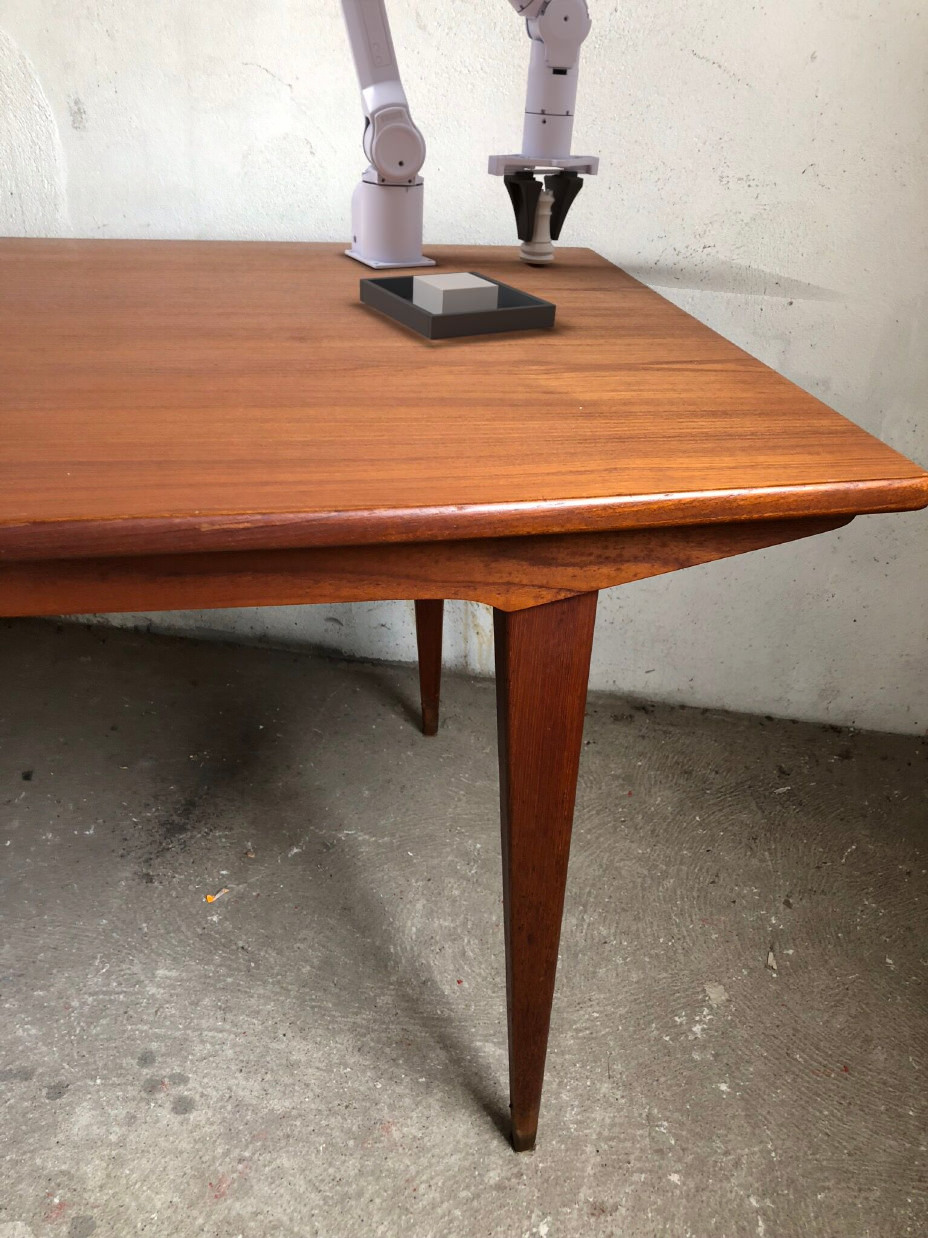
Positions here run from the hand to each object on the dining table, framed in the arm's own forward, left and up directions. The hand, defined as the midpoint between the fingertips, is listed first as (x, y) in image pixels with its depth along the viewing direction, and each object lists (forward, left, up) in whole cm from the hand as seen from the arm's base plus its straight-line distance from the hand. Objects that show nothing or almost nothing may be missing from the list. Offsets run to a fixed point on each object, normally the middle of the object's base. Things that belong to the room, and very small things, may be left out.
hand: (537, 239), depth 112 cm
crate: (+20, -23, -3) cm, 31 cm away
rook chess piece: (0, 0, -3) cm, 3 cm away
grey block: (+20, -23, -2) cm, 30 cm away
